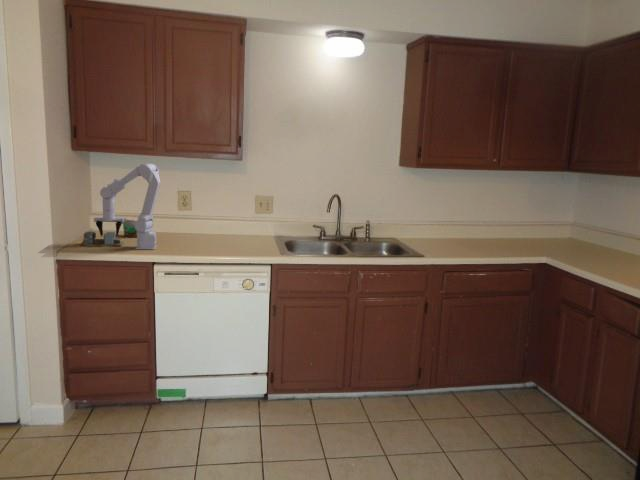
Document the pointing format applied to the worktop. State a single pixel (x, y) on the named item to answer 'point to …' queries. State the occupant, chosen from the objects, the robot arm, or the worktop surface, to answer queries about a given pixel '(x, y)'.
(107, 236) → the block
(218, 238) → the worktop surface
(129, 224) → the food container
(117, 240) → the rail base
